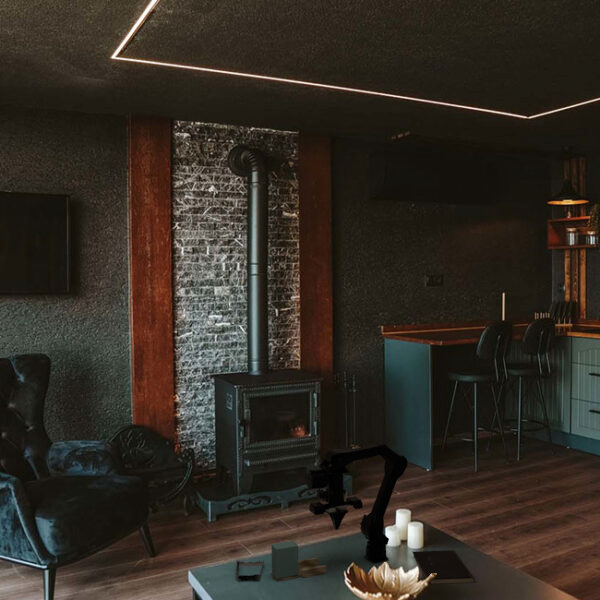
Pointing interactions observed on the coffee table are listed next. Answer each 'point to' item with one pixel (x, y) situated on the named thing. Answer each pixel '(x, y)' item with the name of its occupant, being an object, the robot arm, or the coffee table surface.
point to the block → (285, 559)
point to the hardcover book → (443, 566)
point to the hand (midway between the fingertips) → (336, 529)
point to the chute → (307, 569)
